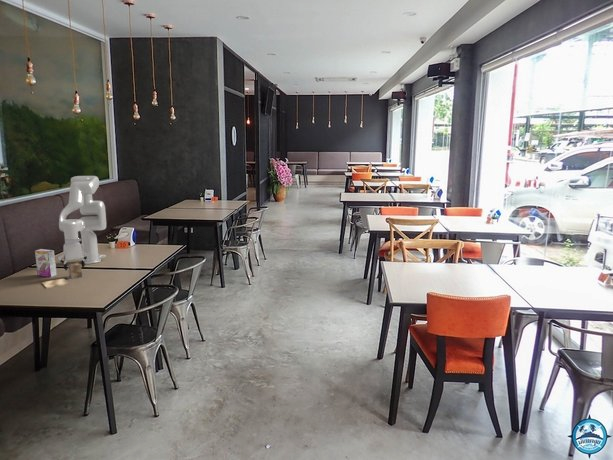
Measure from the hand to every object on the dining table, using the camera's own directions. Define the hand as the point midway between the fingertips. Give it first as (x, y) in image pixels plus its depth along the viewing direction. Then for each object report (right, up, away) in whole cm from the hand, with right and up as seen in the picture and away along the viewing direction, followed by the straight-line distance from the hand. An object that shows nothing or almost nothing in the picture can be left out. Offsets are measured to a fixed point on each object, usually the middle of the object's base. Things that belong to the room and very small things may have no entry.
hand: (74, 268), depth 294 cm
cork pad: (-6, -8, -12) cm, 15 cm away
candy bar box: (-20, -5, +5) cm, 21 cm away
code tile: (0, -5, +2) cm, 6 cm away
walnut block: (0, -5, +2) cm, 6 cm away
